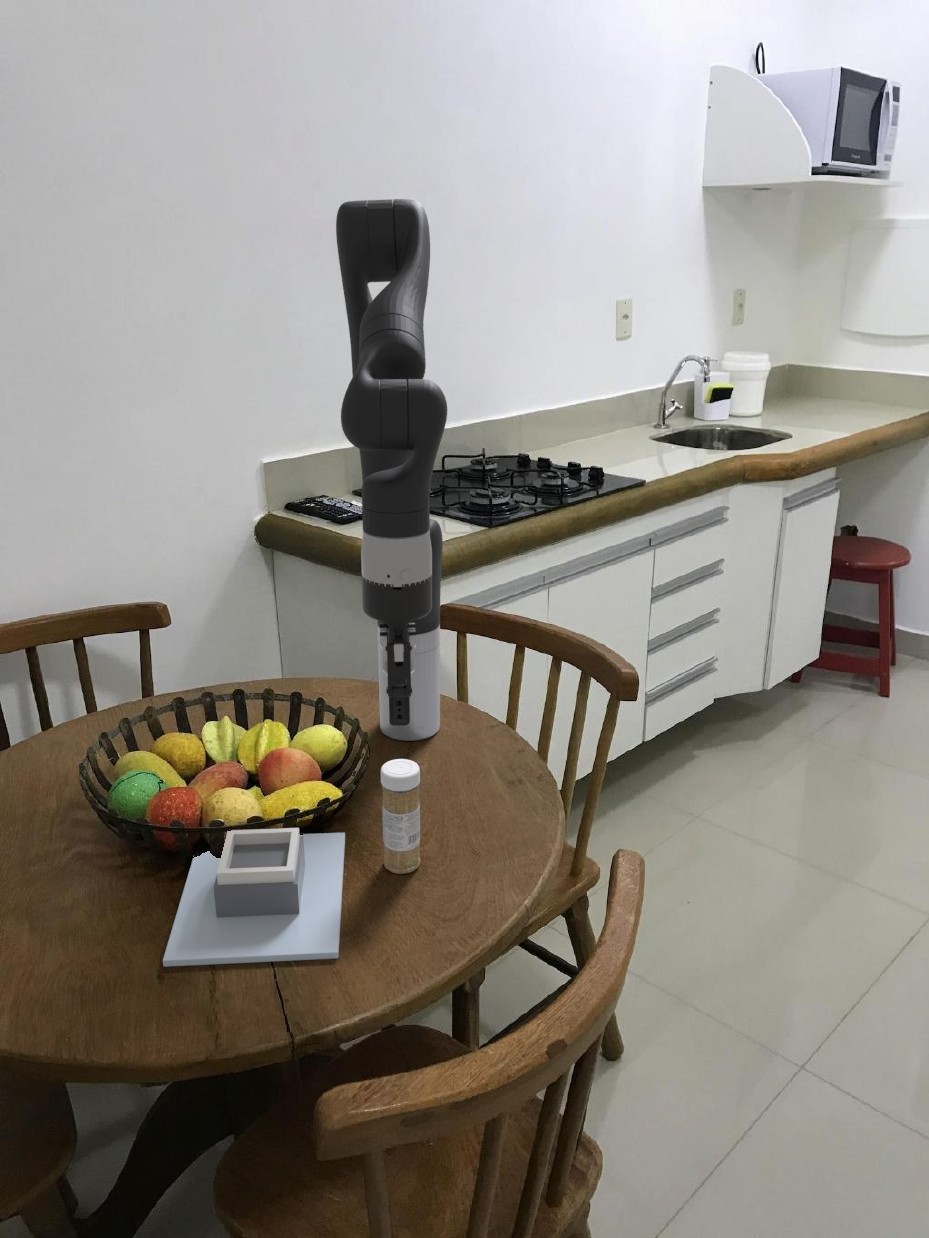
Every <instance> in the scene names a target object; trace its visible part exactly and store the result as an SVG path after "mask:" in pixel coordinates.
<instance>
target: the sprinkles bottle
mask: <svg viewBox="0 0 929 1238" xmlns="http://www.w3.org/2000/svg"><path fill="white" fill-rule="evenodd" d="M420 782H421V770H420V766H419V765H418V763H417V762H415V761H414V760H411V759H407V758H398V759H397V758H395V759H391V760H388V761H386V762H385V763H384V764H383V765H382V766H381V767H380V784H381V788H382V840H383V841H382V842H383V853H384V855H383V856H384V857H383V865H384V868H385V869H386V870H388V871H390V872H391V873H394V874H400V875H402V874H409V873H412V872H414V871H415V870H417V869H418V868H419V867H420V865H421V856H420V841H421V808H420V807H421V806H420V788H419V787H420Z"/></svg>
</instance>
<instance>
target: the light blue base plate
mask: <svg viewBox="0 0 929 1238" xmlns="http://www.w3.org/2000/svg"><path fill="white" fill-rule="evenodd" d="M230 830H231V829H230ZM300 834H301V833H300V828H299V827H287V828H286V827H285V828H284V827H283V828H282V827H281V828H261V829H260V828H259V829H258V828H257V829H256V828H255V829H254V828H253V829H232V830H231V831H228V830H227V832H226V836H225V837H226V839H225V843H224V847H223V851H222V855H221V858H216V857H215V856H213V855H212V854H211V853H210V851H207V852H205V853H202V854H201V855H200V856H197V857H194V856H193V857H194V858H192V861H191V865H190V868H189V871H188V874H187V878H186V880H185V881H186V882H185V884H184V887H183V891H182V894H181V898H180V900H179V905H178V908H177V911H176V913H175V914H176V915H175V917H174V922H173V925H172V927H171V928H172V929H171V932H170V934H169V939H168V941H167V945H166V948H165V952H164V955H163V958H162V965H163V967H165V968H167V967H185V966H205V965H206V966H208V965H209V966H210V965H225V964H227V965H228V964H245V963H246V964H250V963H268V962H269V963H270V962H287V961H288V962H290V961H292V962H293V961H310V960H311V961H313V960H331V959H332V960H333V959H339V955H340V937H341V935H340V934H341V919H342V918H341V916H342V904H343V903H342V900H343V899H342V898H343V886H344V885H343V883H344V865H345V851H346V850H345V849H346V848H345V846H346V832H328V833H327V832H324V833H322V832H321V833H318V832H317V833H302V834H303V835H300Z"/></svg>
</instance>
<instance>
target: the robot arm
mask: <svg viewBox="0 0 929 1238" xmlns="http://www.w3.org/2000/svg"><path fill="white" fill-rule="evenodd" d="M335 221H336V222H335V228H336V229H335V231H336V233H335V234H336V246H337V255H338V263H339V270H340V276H341V283H342V290H343V297H344V304H345V309H346V315H347V316H346V317H347V323H348V324H347V325H348V333H349V340H350V341H349V342H350V355H351V369H352V371H351V372H352V378H351V379H350V381H349V383H348V386H347V388H346V391H345V393H344V396H343V400H342V404H341V409H340V425H341V428H342V432H343V434H344V436H345V438H346V439H347V440H348V441H349V443H350V444H352V446H354V447H356V448H357V449H358V451H359V457H360V458H359V459H360V466H361V467H360V468H361V477H362V479H361V480H362V485H361V486H362V487H361V511H362V514H361V515H362V517H361V518H362V520H361V521H362V536H361V537H362V538H361V546H360V559H361V591H362V592H361V594H362V596H361V599H362V600H361V601H362V610H363V613H364V614H365V615H366V616H367V617H369V618H371V619H374V620H376V622H377V650H378V651H377V657H378V694H379V696H378V697H379V698H378V699H379V729H380V731H381V732H382V734H383V735H385V736H386V737H388V738H391V739H394V740H396V741H407V742H409V741H410V742H411V741H419V740H425V739H428V738H431V737H432V736H434V735H436V733H438V732H439V730H440V728H441V583H442V579H441V578H442V564H443V562H442V561H443V547H444V546H443V544H444V543H443V542H444V541H443V532H442V531H443V530H442V528H441V526H440V524H439V522H438V521H437V520H436V519H432V518H430V494H431V483H432V477H433V476H432V475H433V471H434V467H435V466H434V465H435V462H436V460H437V454H438V452H439V448H440V444H441V441H442V439H443V436H444V431H445V428H446V424H447V419H448V418H447V417H448V404H447V403H448V402H447V399H446V396H445V394H444V392H443V390H442V389H441V388H440V386H439V384H437V383H436V382H435V381H433V380H429V379H425V378H424V377H425V373H426V367H427V366H426V365H427V363H426V349H425V348H426V346H425V333H424V332H425V331H424V321H425V320H424V318H425V317H424V316H425V308H426V304H427V303H426V302H427V296H428V288H429V279H430V278H429V277H430V265H431V264H430V263H431V236H430V235H431V234H430V225H429V221H428V215H427V213H426V210H425V208H424V206H423V205H422V204H421V203H420V202H419V201H417V200H414V199H407V198H394V199H389V198H388V199H368V200H366V199H363V200H352V201H350V200H349V201H345V202H343V203H342V204H340V206H339V207H338V210H337V214H336V219H335ZM370 283H388V284H387V285H386V286H385V287H384V288H383V289H382V290H380V292H379V293H378V294H377V295H376V296H375V297H373V298H372V294H371V292H370V287H369V284H370Z"/></svg>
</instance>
